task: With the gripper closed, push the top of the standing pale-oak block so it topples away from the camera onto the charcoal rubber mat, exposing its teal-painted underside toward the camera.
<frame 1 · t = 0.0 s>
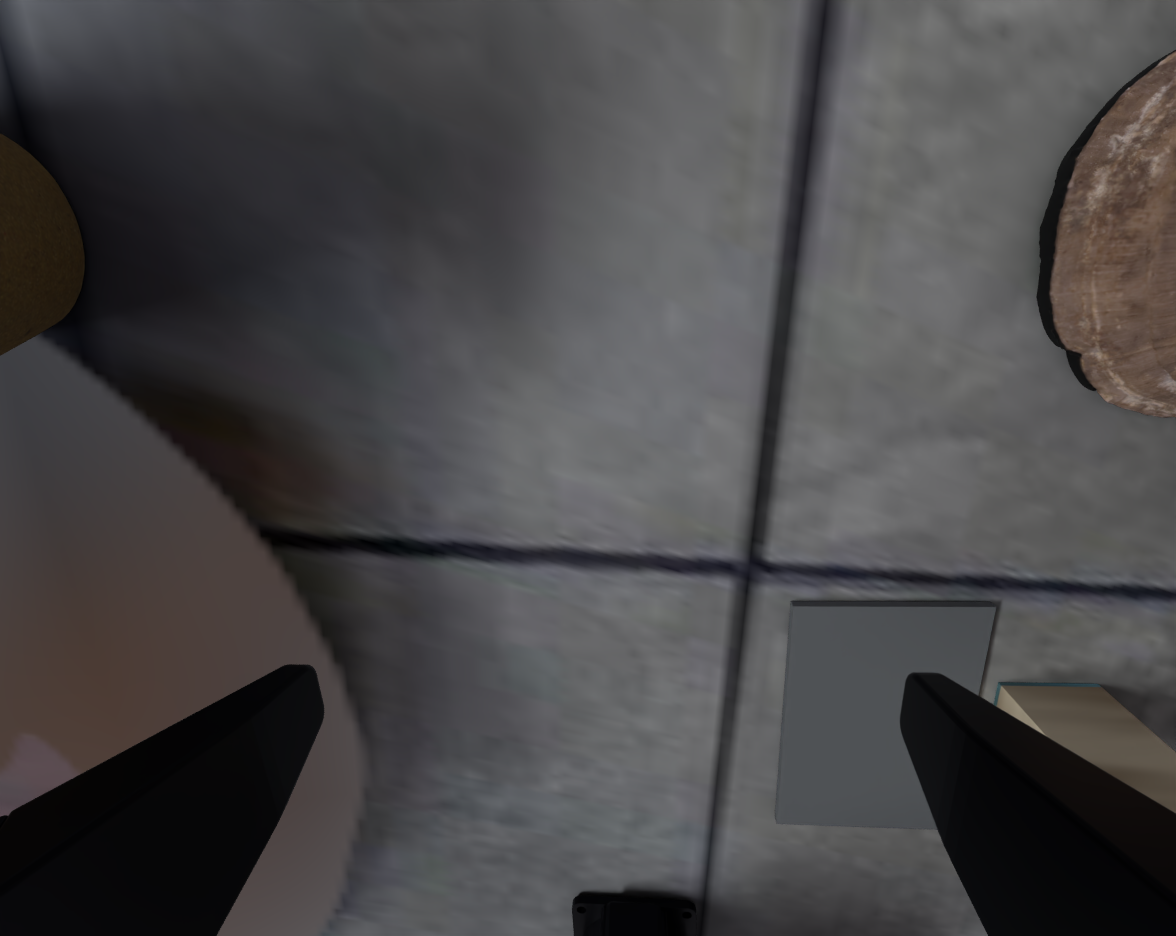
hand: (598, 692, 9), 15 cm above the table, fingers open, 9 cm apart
mat: (873, 718, 26), on the table
oak block: (1038, 720, 25), on the table
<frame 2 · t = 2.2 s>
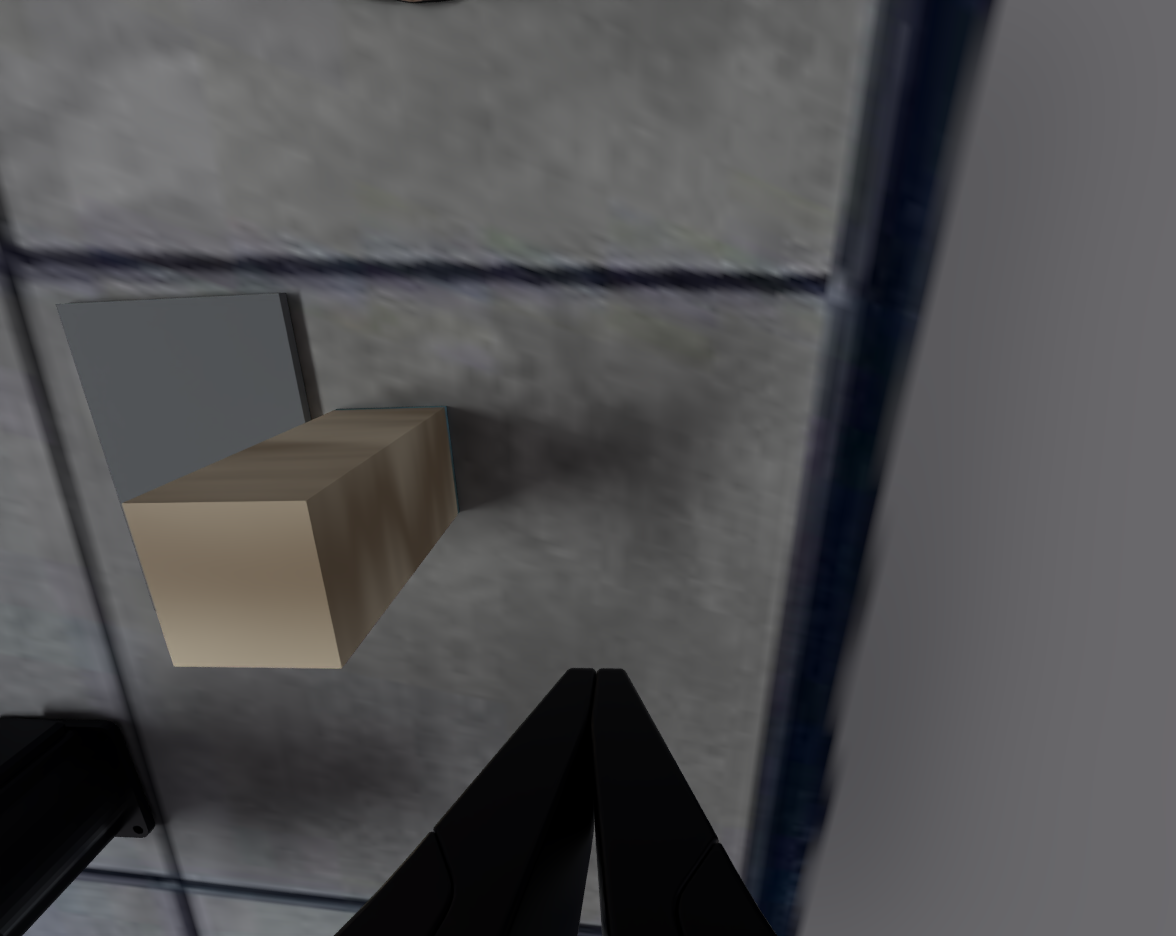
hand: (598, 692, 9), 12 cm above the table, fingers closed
mat: (217, 465, 21), on the table
oak block: (399, 461, 21), on the table
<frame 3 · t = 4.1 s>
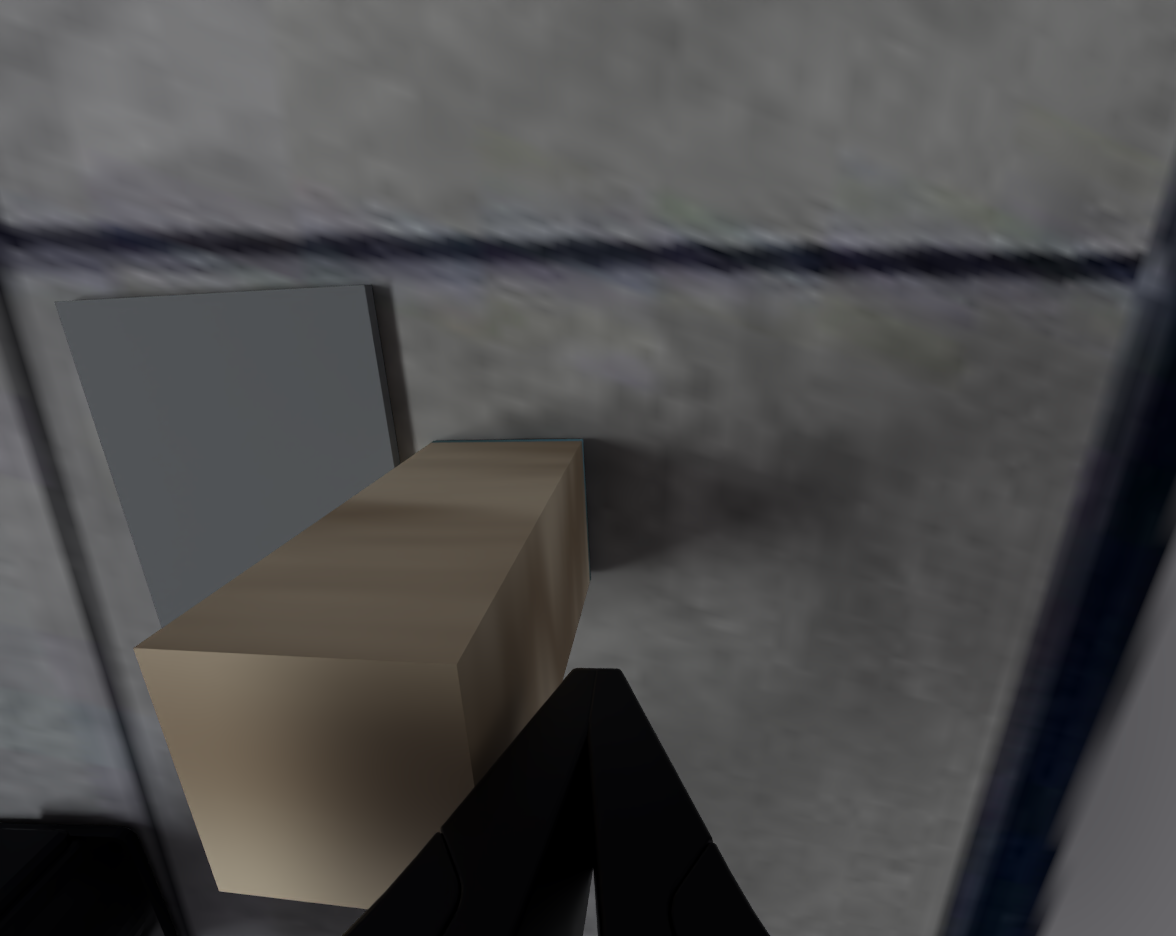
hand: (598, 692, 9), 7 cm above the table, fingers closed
mat: (270, 514, 16), on the table
oak block: (514, 510, 16), on the table, touching gripper
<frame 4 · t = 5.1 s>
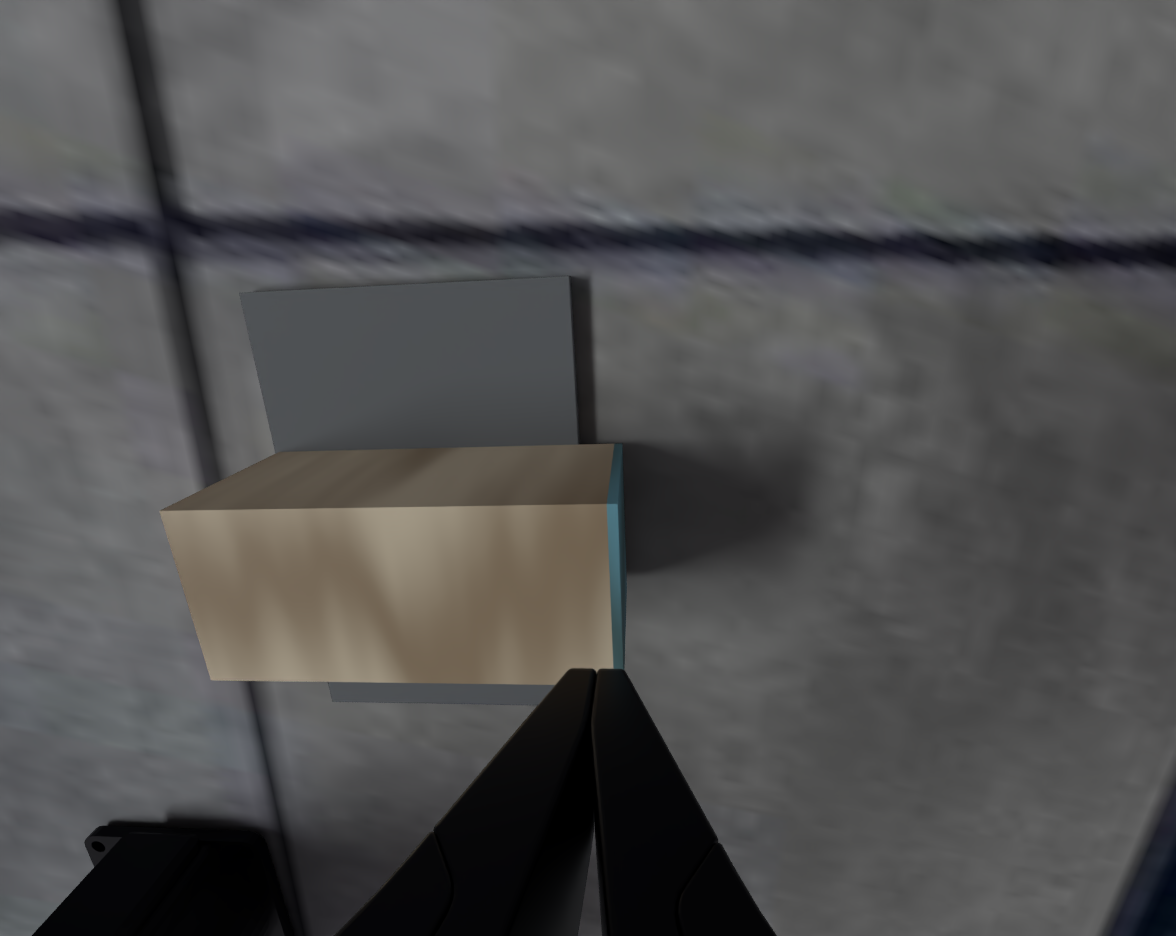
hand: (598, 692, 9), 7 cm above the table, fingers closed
mat: (438, 514, 16), on the table
oak block: (623, 552, 13), point 2 cm above the table, tilted 90°, touching mat
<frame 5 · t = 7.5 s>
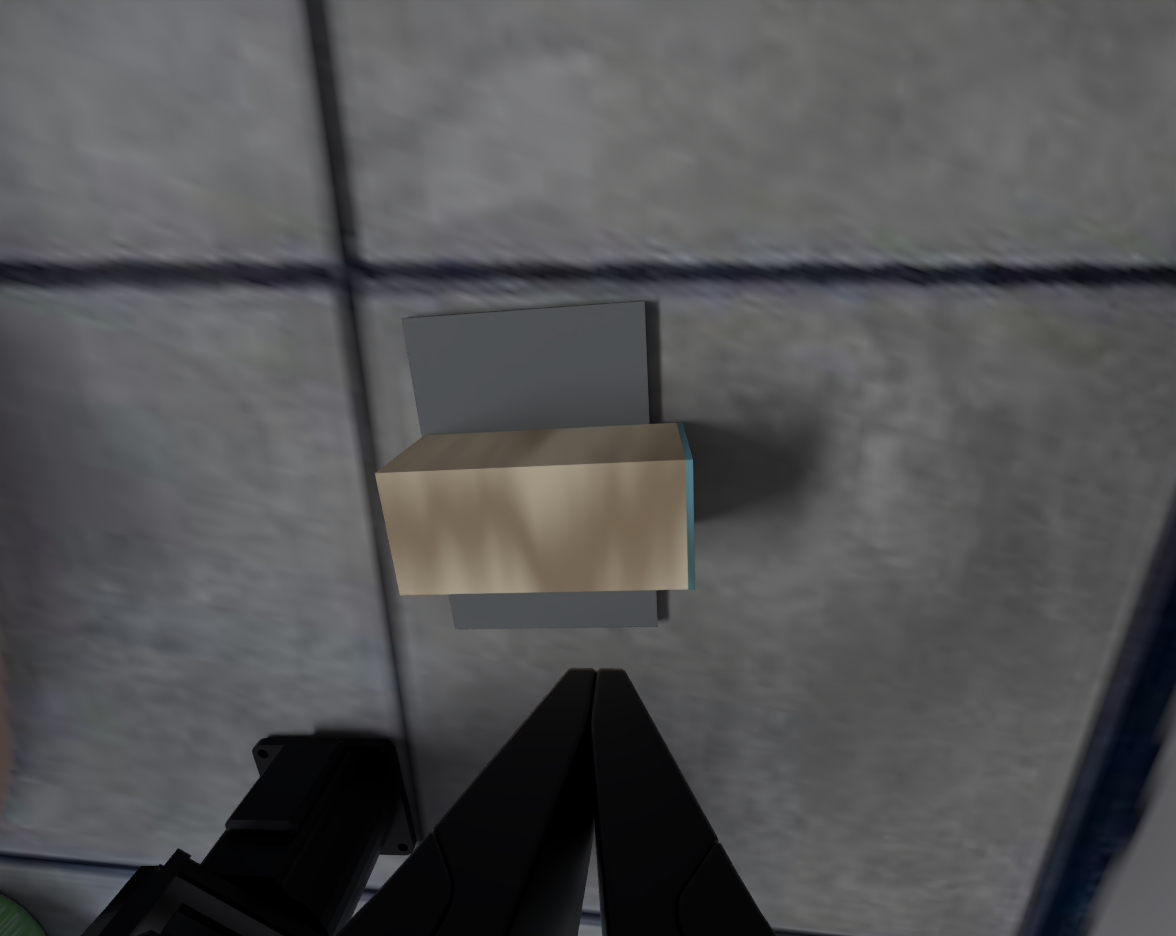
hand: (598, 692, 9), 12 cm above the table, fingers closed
mat: (540, 480, 21), on the table
oak block: (688, 500, 18), point 2 cm above the table, tilted 90°, touching mat
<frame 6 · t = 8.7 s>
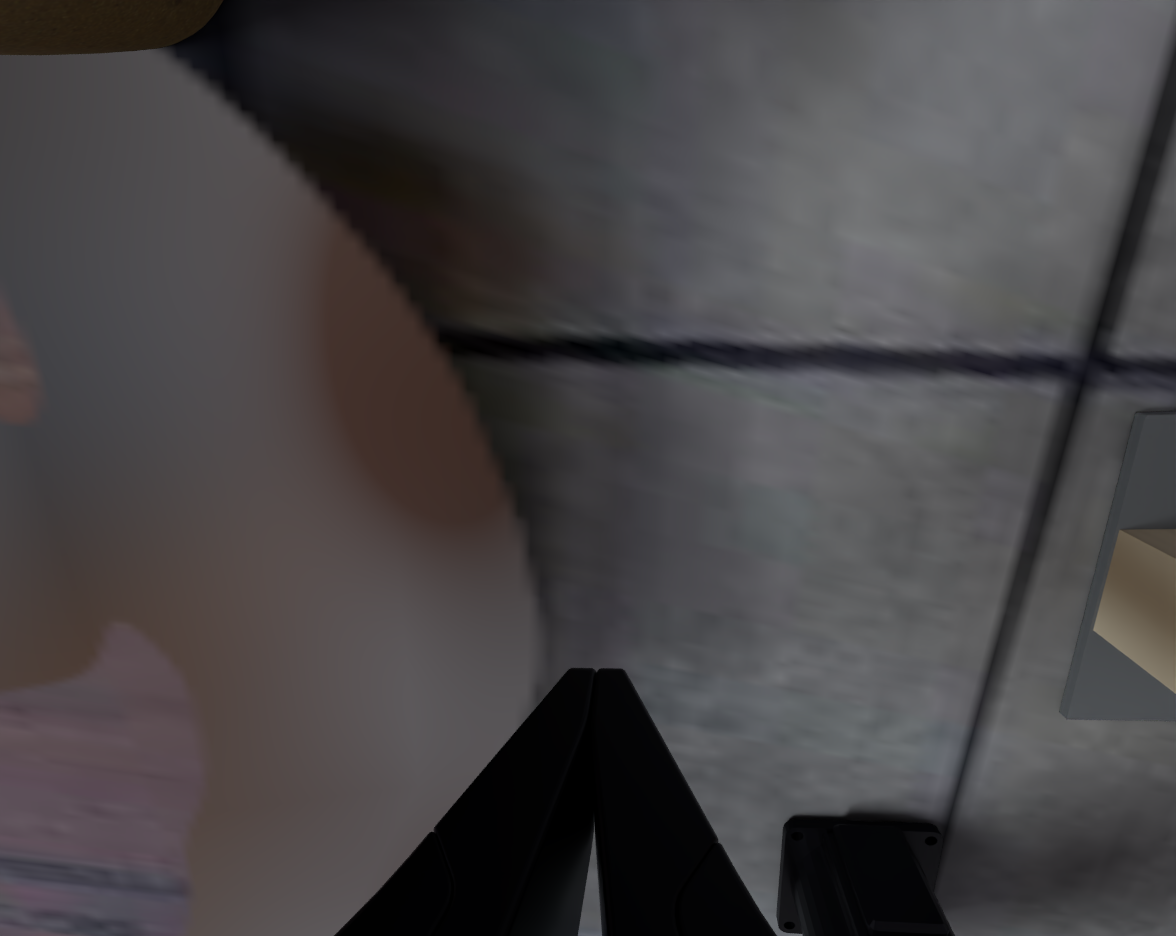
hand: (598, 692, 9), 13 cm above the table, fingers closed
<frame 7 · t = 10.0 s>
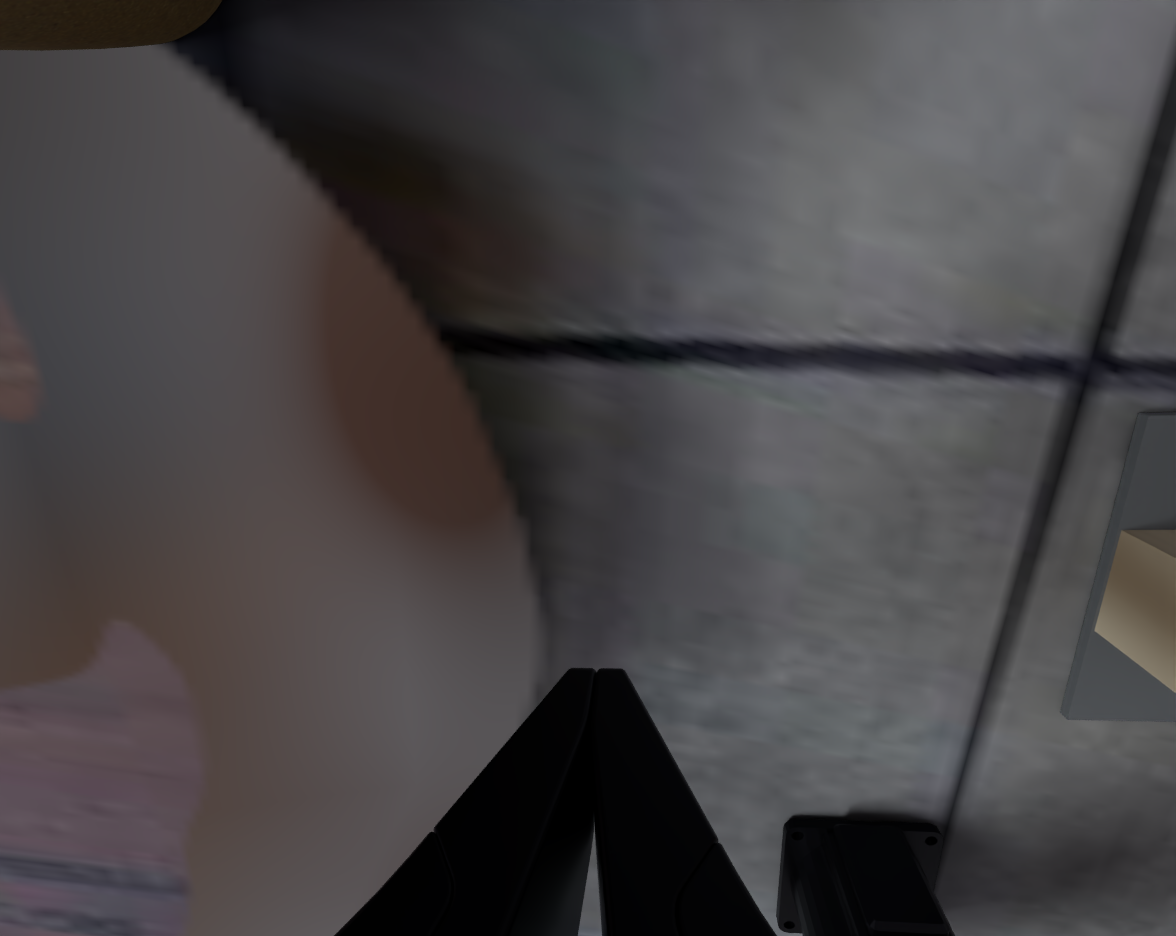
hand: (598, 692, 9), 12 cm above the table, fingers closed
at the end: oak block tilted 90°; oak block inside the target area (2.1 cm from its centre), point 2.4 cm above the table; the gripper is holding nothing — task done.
